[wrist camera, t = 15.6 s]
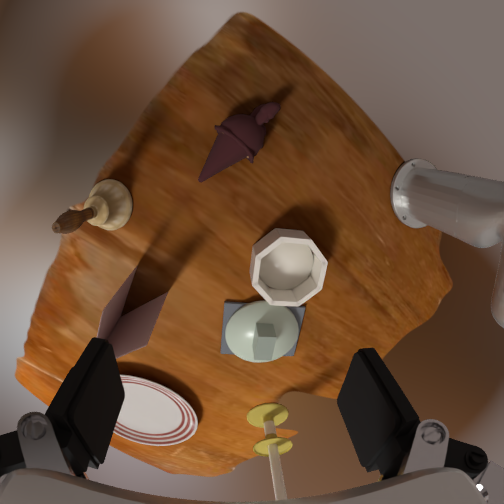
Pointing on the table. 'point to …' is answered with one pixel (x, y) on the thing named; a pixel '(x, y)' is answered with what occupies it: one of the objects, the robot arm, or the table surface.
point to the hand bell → (99, 209)
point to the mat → (233, 306)
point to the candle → (271, 440)
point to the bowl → (287, 267)
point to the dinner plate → (154, 414)
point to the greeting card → (128, 321)
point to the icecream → (238, 139)
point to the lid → (261, 331)
